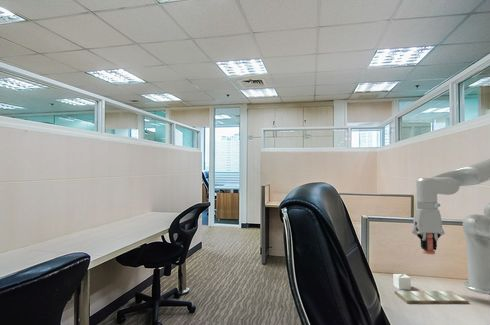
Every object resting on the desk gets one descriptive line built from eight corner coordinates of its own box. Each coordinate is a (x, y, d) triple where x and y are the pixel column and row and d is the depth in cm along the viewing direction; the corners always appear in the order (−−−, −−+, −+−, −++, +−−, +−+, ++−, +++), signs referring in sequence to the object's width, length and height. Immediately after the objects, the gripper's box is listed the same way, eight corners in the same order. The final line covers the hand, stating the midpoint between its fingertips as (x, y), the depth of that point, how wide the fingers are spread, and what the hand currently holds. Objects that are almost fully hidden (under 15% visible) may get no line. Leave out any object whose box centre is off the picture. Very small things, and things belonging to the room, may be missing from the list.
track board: (451, 293, 122) (450, 290, 122) (468, 303, 112) (468, 300, 112) (394, 293, 122) (394, 290, 122) (407, 303, 112) (407, 300, 112)
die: (404, 285, 132) (404, 273, 132) (410, 289, 127) (410, 277, 127) (393, 285, 132) (393, 273, 132) (399, 289, 127) (398, 277, 127)
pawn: (431, 251, 128) (430, 230, 129) (437, 254, 124) (436, 232, 124) (420, 251, 128) (420, 230, 129) (426, 254, 124) (425, 232, 125)
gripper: (441, 205, 131) (443, 247, 130) (403, 205, 131) (404, 247, 130) (452, 207, 123) (454, 251, 122) (412, 207, 124) (413, 251, 123)
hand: (428, 248), depth 126 cm, fingers closed on pawn, 3 cm apart
